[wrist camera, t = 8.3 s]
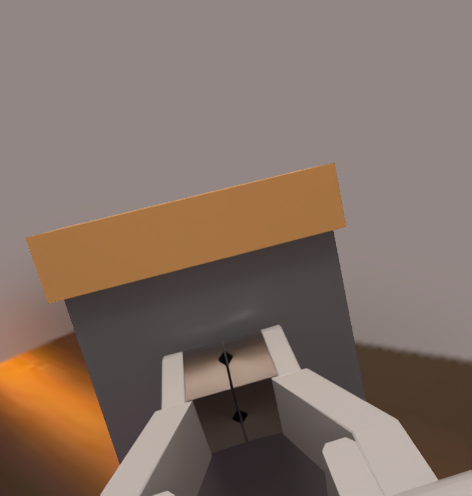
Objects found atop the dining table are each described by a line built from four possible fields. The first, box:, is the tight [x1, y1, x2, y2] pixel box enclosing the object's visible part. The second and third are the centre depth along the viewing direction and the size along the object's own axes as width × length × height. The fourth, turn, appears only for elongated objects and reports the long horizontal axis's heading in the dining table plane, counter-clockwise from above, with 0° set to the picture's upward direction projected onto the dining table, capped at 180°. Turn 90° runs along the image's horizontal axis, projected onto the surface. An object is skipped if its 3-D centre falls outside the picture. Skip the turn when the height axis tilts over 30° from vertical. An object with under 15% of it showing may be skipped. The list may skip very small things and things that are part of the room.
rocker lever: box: [26, 163, 366, 496], centre depth 11 cm, size 3×7×14 cm, turn 101°
